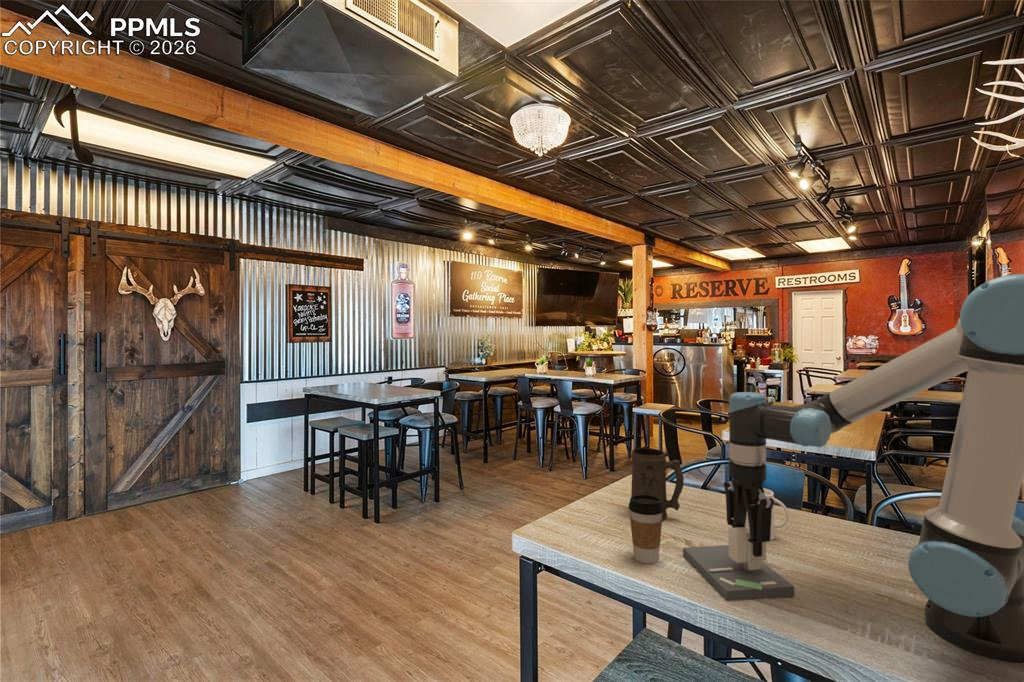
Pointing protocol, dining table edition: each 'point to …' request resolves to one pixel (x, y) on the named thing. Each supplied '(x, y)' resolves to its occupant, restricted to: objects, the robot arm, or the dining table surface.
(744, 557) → the peg
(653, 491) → the beer stein
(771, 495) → the mug
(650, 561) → the coffee cup
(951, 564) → the robot arm
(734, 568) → the tuner board
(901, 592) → the dining table surface
